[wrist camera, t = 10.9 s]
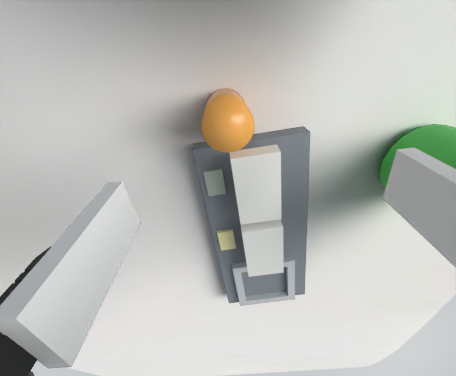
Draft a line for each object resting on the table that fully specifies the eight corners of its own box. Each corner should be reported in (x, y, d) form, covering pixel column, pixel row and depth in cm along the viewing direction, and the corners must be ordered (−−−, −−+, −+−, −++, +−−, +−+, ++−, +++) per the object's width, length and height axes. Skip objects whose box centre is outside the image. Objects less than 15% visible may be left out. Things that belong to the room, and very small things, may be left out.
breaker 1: (229, 151, 21) (230, 159, 19) (276, 144, 20) (280, 151, 19) (239, 215, 25) (240, 224, 24) (278, 209, 25) (281, 219, 24)
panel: (193, 143, 25) (190, 154, 22) (303, 126, 24) (314, 135, 21) (228, 291, 37) (229, 310, 35) (300, 283, 37) (307, 301, 34)
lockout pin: (202, 92, 22) (195, 104, 16) (242, 85, 22) (251, 94, 16) (210, 131, 24) (206, 156, 18) (247, 125, 24) (256, 148, 18)
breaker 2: (240, 223, 25) (241, 233, 24) (279, 217, 25) (283, 227, 23) (247, 266, 29) (248, 276, 28) (280, 262, 29) (283, 272, 28)
